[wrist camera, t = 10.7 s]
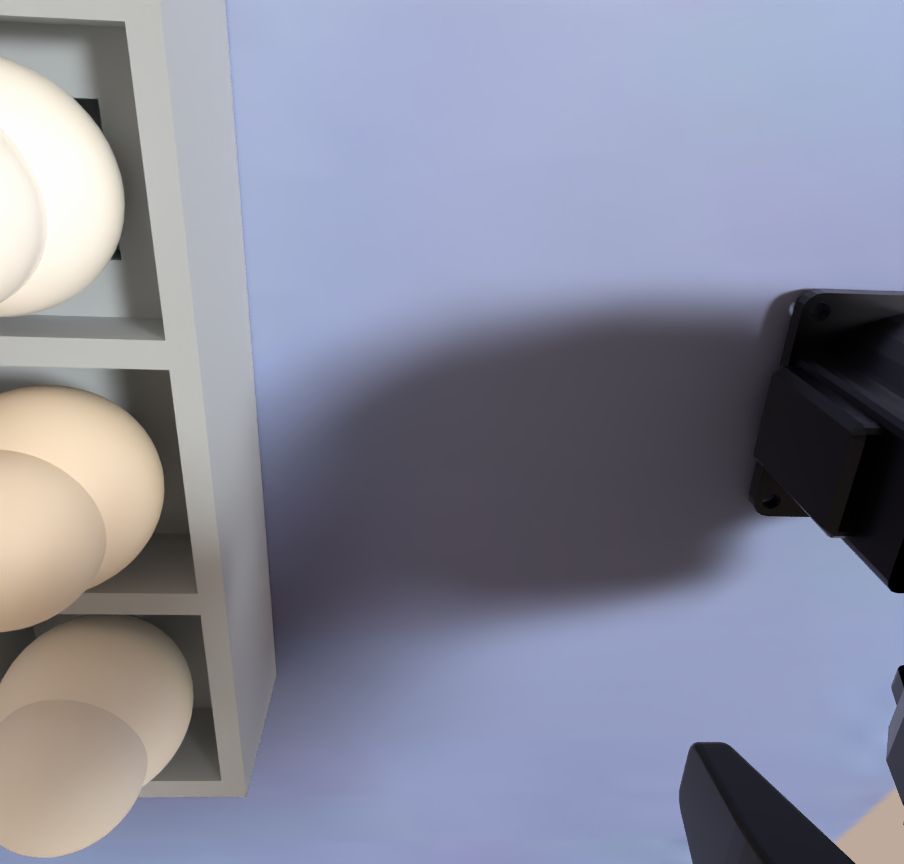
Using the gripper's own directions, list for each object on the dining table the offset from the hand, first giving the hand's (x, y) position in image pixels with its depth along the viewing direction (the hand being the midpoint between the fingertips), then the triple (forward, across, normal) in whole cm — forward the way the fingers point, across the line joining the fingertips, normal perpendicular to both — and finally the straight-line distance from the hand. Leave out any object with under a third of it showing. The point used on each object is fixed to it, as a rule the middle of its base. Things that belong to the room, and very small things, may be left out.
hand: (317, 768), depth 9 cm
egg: (+10, +6, -6) cm, 13 cm away
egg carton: (+12, +6, -2) cm, 14 cm away
